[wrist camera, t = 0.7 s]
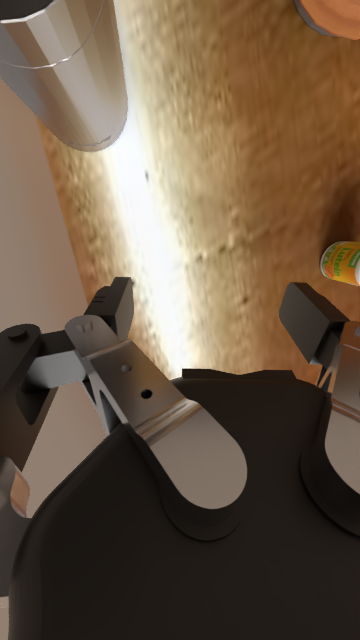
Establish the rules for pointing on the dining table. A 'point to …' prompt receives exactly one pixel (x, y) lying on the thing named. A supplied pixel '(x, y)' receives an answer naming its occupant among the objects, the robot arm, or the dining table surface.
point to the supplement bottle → (342, 262)
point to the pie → (331, 16)
